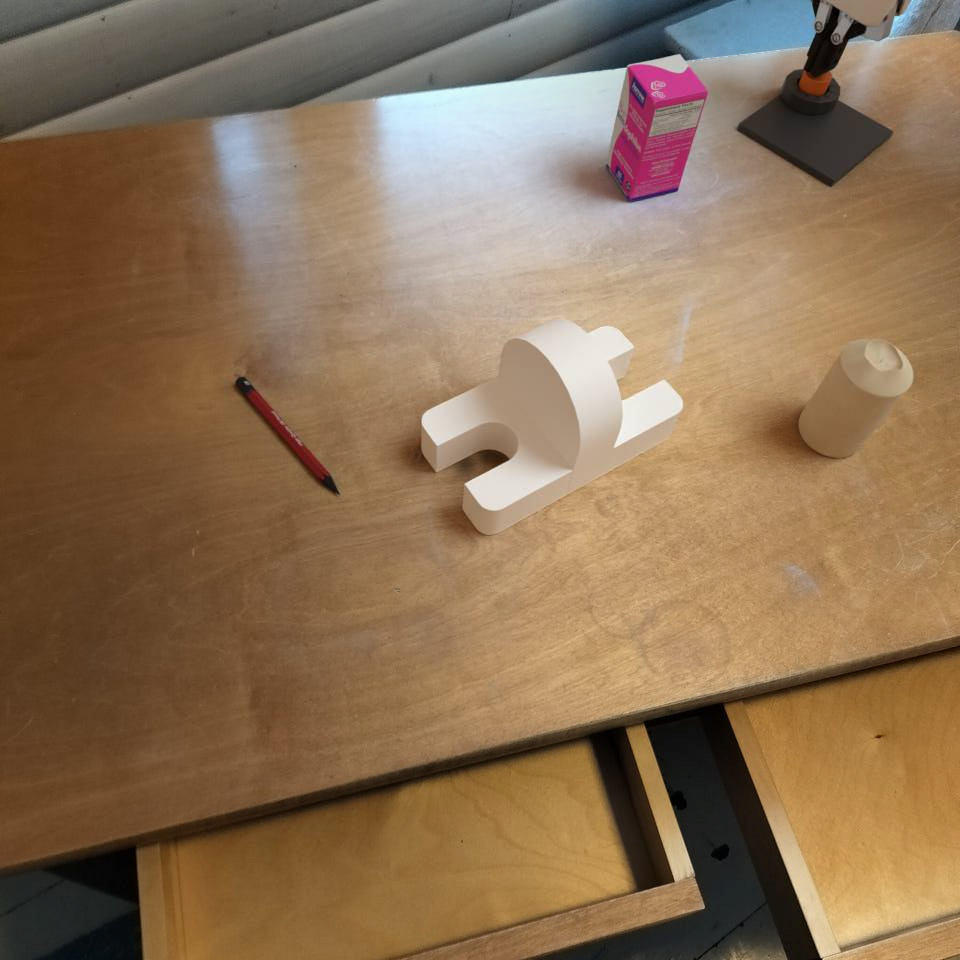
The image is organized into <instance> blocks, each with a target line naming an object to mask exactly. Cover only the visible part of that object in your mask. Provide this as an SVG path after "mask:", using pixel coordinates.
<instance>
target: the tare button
mask: <svg viewBox="0 0 960 960" xmlns="http://www.w3.org/2000/svg"><path fill="white" fill-rule="evenodd" d="M832 78H833V73H832V72H831V71H828V72H826V73H824V74H822V75H820V76H818V77H816V78H815V77H813V76H812V75H811V73H810V72H806V71H805V70H804V72H803V75H802V77H801V79H800V82H799V88H800V90H802V91H804V92H805V93H807V94H810V95H815V96H821V95H823V94H825V92H826V90H827V88H828V86H829V83H830V81H831V79H832Z"/></svg>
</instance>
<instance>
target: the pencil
mask: <svg viewBox="0 0 960 960" xmlns="http://www.w3.org/2000/svg"><path fill="white" fill-rule="evenodd" d="M234 383H235V386H236V387H237V389H239V391H240V392H241V393H242V394H243V395H244V396H245V397H246V398H247V400H248V402H250V403H251V405H252V406H253V407H254V408H255V409H256V410H257V411H258V412H259V414H260V415H261V416H262V417H263V418H264V419H265V421H266V422H267V423H268V424H269V425H270V426H271V427H272V429H274V431H275V432H276V433H277V434H278V436H279V437H280V438H281V439H282V440H283V441H284V442H285V444H286V445H287V446H288V445H289V446H288V447H289V448H290V449H291V450H292V452H293V453H294V454H295V453H296V454H295V455H296V456H297V457H298V458H299V459H300V461H301V462H302V463H303V465H305V466H306V468H307V469H308V470H309V471H310V472H311V473H312V475H313V476H314V477H315V476H316V477H315V478H316V479H317V480H318V481H319V482H320V483H321V484H322V485H323V486H325V487H327V489H330V490H331V491H332V492H334V493H336V494H337V495H338V496H341V493H340V492H339V489H338V487H337V485H336V483H335V480H334V479H333V477H332V475H331V474H330V472H329V471H328V470H327V469H326V468H325V466H324V465H323V464H322V463H321V462H320V461H319V459H318V458H317V457H316V456H315V455H314V454H313V453H312V452H311V451H310V449H309V448H308V447H307V446H306V445H305V444H304V442H302V440H301V439H300V438H299V437H298V436H297V434H296V433H295V432H294V431H293V430H292V429H291V428H290V426H288V425H287V423H286V422H285V421H284V420H283V418H281V417H280V415H279V414H278V413H277V411H275V410H274V409H273V408H272V406H271V405H270V404H269V403H268V402H267V401H266V399H264V397H263V396H262V395H261V394H260V393H259V391H258V390H257V389H256V388H255V387H254V386H253V384H252V383H251V382H250V381H249V380H248V379H247V378H246V376H239V377H237V379H236V380H235V381H234Z"/></svg>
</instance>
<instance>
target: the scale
mask: <svg viewBox="0 0 960 960" xmlns="http://www.w3.org/2000/svg"><path fill="white" fill-rule="evenodd" d="M803 72H804V70H803V68H800V69H799V68H798V69H794V70H793V71H791V72H789V74H787V75H786V76H785V79H784V82H783V84H782V86H781V89H780V90H781V91H780V94H778V95H777V96H775V97H774V98H773V99H771V100H769V102H767V103H766V104H764V105H762V106H761V107H760V108H759V109H757V110H756V111H755V112H753V113H751V115H749V116H747V117H746V118H744V119H742V121H741V122H739V123H738V126H737V129H736V131H738V132H740V133H741V134H743V136H746V137H748V138H749V139H751V140H752V141H754V142H756V143H758V144H759V145H761V146H762V147H764V148H766V149H768V150H769V151H771V152H772V153H774V154H775V155H777V156H779V157H781V158H782V159H783V160H786V161H787V162H789V163H791V164H792V165H794V166H796V167H797V168H799V169H800V170H801V171H804V172H805V173H807V174H808V175H810V176H812V177H813V178H815V179H817V180H819V181H820V182H822V183H824V184H825V185H826V186H828V187H830V188H832V187H834V186H835V185H836V184H837V183H838V182H839V181H840V180H842V179H843V178H844V177H845V176H847V175H848V174H849V173H850V172H852V170H854V169H855V168H856V167H858V166H859V165H860V164H861V163H862V162H863V161H864V160H866V159H867V158H868V157H870V155H872V154H873V153H874V152H876V151H877V150H878V149H879V148H880V147H882V146H883V145H884V144H885V143H886V142H887V141H889V140H890V139H891V137H892V136H893V133H894V130H892V129H890V128H889V127H886V126H885V125H883V124H882V123H879V122H878V121H876V120H874V119H873V118H871V117H869V116H868V115H866V114H864V113H862V112H860V111H858V110H857V109H855V108H853V107H851V105H850V106H849V105H848V104H846V103H844V102H842V101H841V100H839V99H840V96H841V85H840V84H839V83H838V81H837V80H836V79H835V78H834V77H832V79H831V81H830V83H829V86H828V88H827V90H826V92H825V94H823V95H821V96H815V95H810V94H807V93H805V92H804V91H802V90H800V88H799V82H800V79H801V77H802V75H803Z"/></svg>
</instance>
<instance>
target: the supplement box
mask: <svg viewBox="0 0 960 960" xmlns="http://www.w3.org/2000/svg"><path fill="white" fill-rule="evenodd" d="M620 92H621V93H620V97H619V102H618V106H617V111H616V115H615V121H614V123H613V128H612V129H613V130H612V134H611V139H610V143H609V146H608V147H609V148H608V152H607V158H606V163H605V167H606V169H607V170H608V171H609V173H610V174H611V175H612V177H613V179H614V180H615V182H616V183H617V184H618V186H619V187H620V190H622V191H621V192H623V195H624V196H625V198H626V199H627V201H628V202H630V203H631V202H635V201H640V200H644V199H649V198H654V197H658V196H662V195H666V194H672V193H677V192H678V191H679V189H680V185H681V183H682V179H683V177H684V176H683V175H684V172H685V169H686V165H687V162H688V159H689V156H690V153H691V150H692V146H693V144H694V139H695V136H696V134H697V130H698V126H699V124H700V119H701V118H702V114H703V110H704V108H705V104H706V100H707V99H708V94H709V89H708V88H707V86H705V84H704V83H703V82H702V81H701V79H700V78H699V76H698V75H697V74H696V73H695V71H694V70H693V69H692V67H691V66H690V65H689V64H688V62H687V61H686V60H685V59H684V57H683V56H682V55H681V54H680V53H678V54H673V55H670V56H669V55H668V56H665V57H661V58H655V59H652V60H651V59H650V60H646V61H640V62H635V63H629V64H628V65H626V69H625V74H624V79H623V83H622V88H621V91H620Z"/></svg>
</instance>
